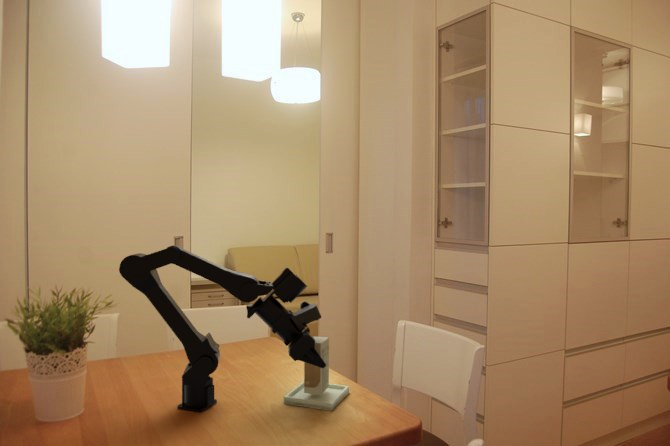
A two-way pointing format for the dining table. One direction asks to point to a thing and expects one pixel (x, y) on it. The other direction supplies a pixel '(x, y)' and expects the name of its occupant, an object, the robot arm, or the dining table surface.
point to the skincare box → (317, 369)
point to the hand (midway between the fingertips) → (322, 361)
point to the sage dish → (317, 397)
